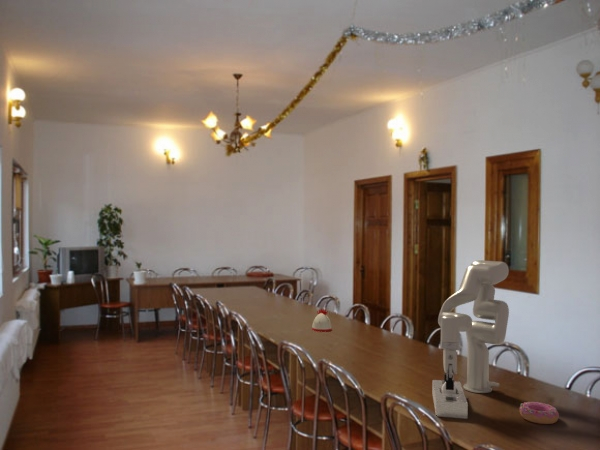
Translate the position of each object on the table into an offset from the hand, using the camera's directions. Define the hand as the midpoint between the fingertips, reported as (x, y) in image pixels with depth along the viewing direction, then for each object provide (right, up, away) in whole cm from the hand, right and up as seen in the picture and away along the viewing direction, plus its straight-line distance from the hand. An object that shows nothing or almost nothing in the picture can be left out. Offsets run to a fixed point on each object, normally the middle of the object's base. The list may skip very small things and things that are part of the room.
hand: (448, 386), depth 230 cm
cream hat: (-47, -6, +157) cm, 164 cm away
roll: (0, -8, 0) cm, 8 cm away
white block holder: (0, -8, 0) cm, 8 cm away
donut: (+32, -9, -14) cm, 36 cm away
